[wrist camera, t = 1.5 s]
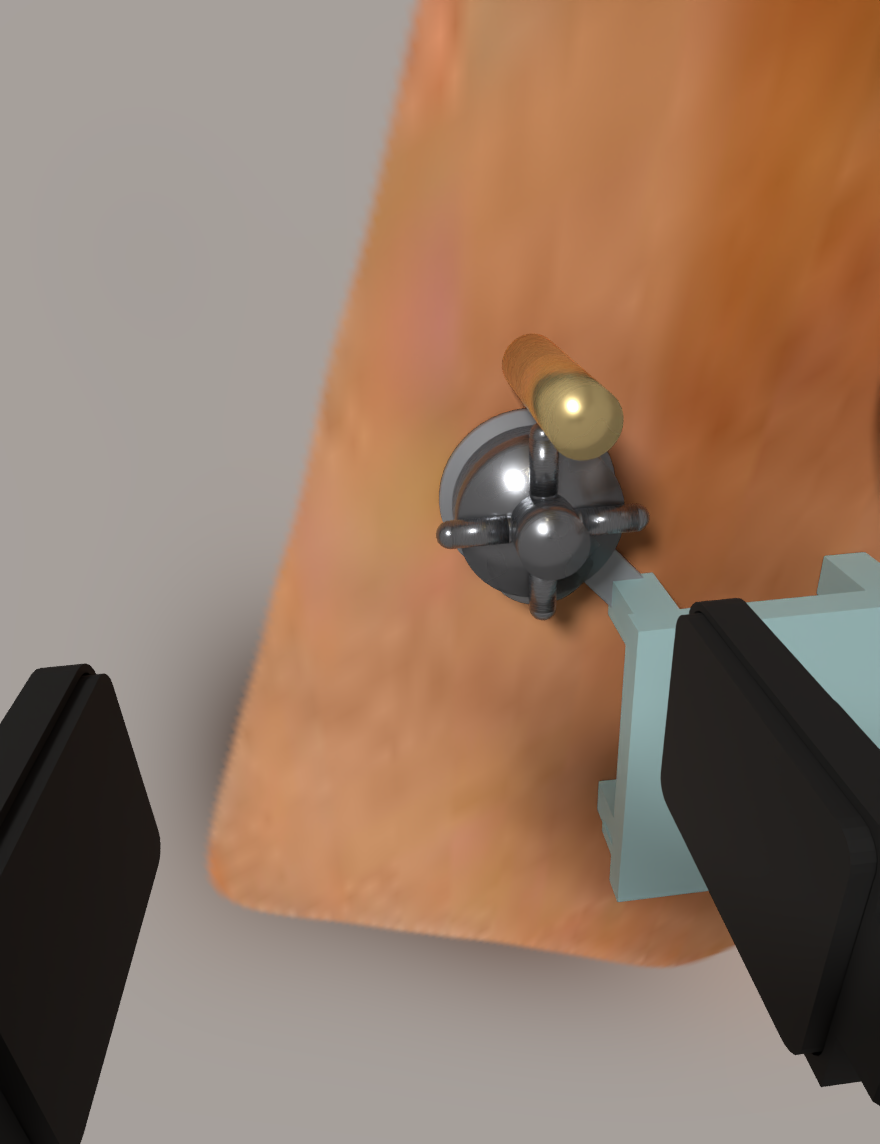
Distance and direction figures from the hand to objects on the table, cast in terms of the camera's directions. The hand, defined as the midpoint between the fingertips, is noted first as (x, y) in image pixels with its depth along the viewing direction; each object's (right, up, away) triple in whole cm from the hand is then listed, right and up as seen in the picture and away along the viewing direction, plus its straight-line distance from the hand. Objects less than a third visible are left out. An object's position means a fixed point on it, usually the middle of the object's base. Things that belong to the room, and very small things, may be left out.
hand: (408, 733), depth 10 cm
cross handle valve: (+4, +6, +19) cm, 20 cm away
